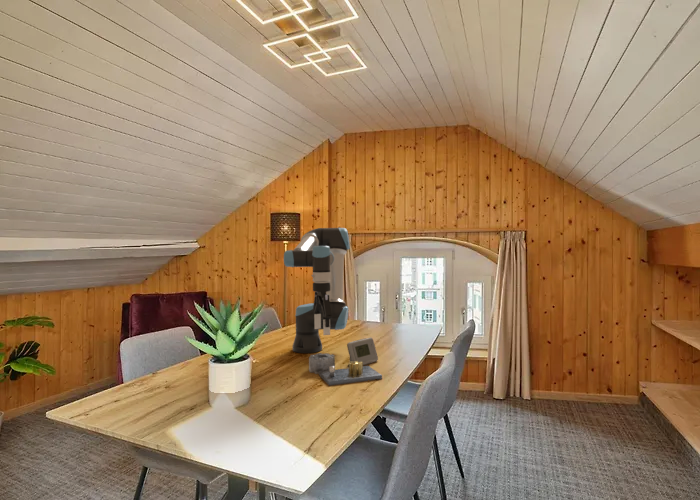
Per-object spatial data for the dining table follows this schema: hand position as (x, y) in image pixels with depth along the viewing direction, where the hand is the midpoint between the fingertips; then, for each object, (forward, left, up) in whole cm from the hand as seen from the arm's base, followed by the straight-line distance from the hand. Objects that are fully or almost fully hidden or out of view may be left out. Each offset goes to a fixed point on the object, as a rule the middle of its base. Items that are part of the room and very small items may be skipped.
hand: (322, 331), depth 182 cm
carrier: (+13, +8, -16) cm, 22 cm away
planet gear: (0, 0, -16) cm, 17 cm away
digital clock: (-3, +20, -17) cm, 26 cm away
